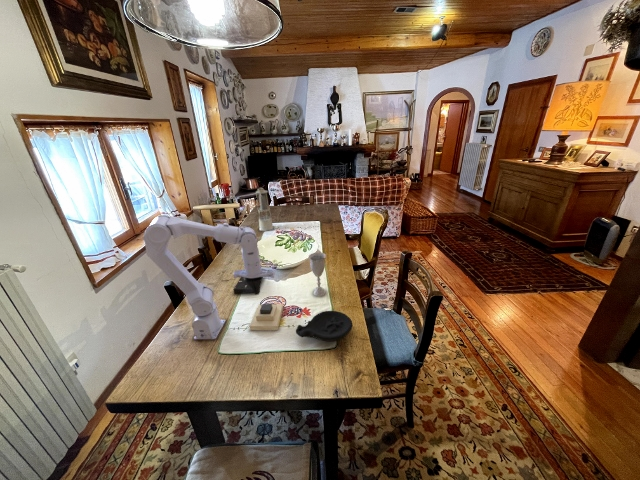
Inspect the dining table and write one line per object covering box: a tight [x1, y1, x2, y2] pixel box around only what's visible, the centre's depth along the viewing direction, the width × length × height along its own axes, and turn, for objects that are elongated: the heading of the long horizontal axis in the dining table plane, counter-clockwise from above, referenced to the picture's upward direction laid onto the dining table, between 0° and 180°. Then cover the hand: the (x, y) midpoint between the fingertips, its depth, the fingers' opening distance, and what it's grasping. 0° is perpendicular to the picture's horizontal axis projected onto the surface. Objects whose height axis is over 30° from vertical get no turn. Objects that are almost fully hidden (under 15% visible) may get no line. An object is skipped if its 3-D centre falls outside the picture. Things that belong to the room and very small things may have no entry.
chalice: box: [308, 251, 327, 297], centre depth 106 cm, size 7×7×18 cm
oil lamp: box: [295, 310, 353, 343], centre depth 87 cm, size 15×20×5 cm
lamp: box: [255, 187, 274, 232], centre depth 178 cm, size 10×13×30 cm
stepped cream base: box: [249, 303, 284, 331], centre depth 96 cm, size 12×10×4 cm
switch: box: [260, 303, 272, 314], centre depth 95 cm, size 4×4×2 cm
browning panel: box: [233, 277, 264, 295], centre depth 117 cm, size 12×10×3 cm
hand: (257, 293), depth 95 cm, fingers closed
